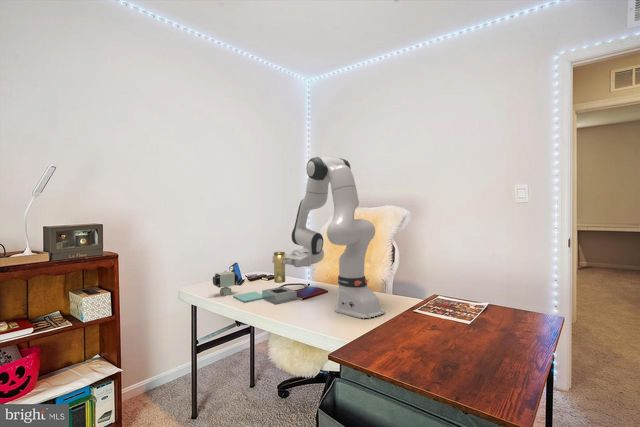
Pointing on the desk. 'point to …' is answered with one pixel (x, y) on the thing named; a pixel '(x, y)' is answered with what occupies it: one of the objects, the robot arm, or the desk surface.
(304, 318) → the desk surface
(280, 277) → the brass cylinder
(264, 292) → the housing
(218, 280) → the pneumatic valve
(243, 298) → the pad
